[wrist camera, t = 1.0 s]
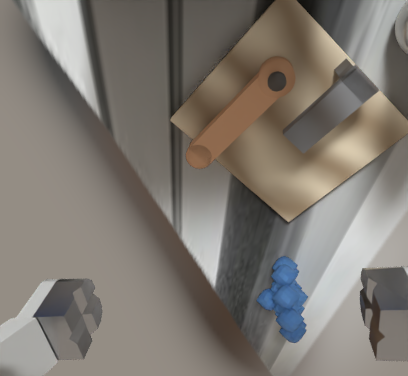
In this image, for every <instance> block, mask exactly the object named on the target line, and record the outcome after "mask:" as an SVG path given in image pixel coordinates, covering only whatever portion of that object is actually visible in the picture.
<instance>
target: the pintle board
mask: <svg viewBox="0 0 408 376" xmlns="http://www.w3.org/2000/svg"><path fill="white" fill-rule="evenodd" d="M275 56H280V57H284V58H286V59H287V60H288V61H290V63H291V64H292V66H293V69H294V73H295V84H294V86H293V88H292V90H291V91H290V92H289V93H288V94H286V95H285V96H282V97H279V98H278V99H277V100H276V101H275V102H274V103H273V104H272V105H271V106H270V107H269V108H268V109H267V110H266V111H265V112H264V113H263V114H262V115H261V116H259V117H258V118H257V119H256V120H255V121H254V122H253V123H252V124H251V125H250V126H249V127H248V128H247V129H246V130H245V131H244V132H243V133H242V134H241V135H240V136H239V137H238V138H237V139H236V140H234V141H233V142H232V143H231V144H230V145H229V146H228V147H227V148H226V149H225V150H224V151H223V152H222V153H221V154H220V155H219V156H218V157H217V158H216V159H215V160H217V161H218V162H219V163H220V164H221V165H222V166H224V167H225V168H226V169H227V170H228V171H229V172H231V173H232V174H233V175H234V176H235V177H236V178H238V179H239V180H240V181H241V182H242V183H243V184H245V185H246V186H247V187H248V188H249V189H250V190H252V191H253V192H254V193H255V194H256V195H257V196H259V197H260V198H261V199H262V200H263V201H264V202H266V203H267V204H268V205H269V206H270V207H271V208H273V209H274V210H275V211H276V212H277V213H278V214H280V215H281V216H282V217H283V218H284V219H285V220H287V221H288V222H290V221H291V220H292V219H294V218H295V217H296V216H298V215H299V214H300V213H302V212H303V211H304V210H306V209H307V208H308V207H310V206H311V205H312V204H314V203H315V202H317V201H318V200H319V199H321V198H322V197H323V196H325V195H326V194H327V193H329V192H330V191H331V190H333V189H334V188H335V187H337V186H338V185H339V184H341V183H342V182H344V181H345V180H346V179H348V178H349V177H350V176H352V175H353V174H354V173H356V172H357V171H358V170H360V169H361V168H362V167H364V166H365V165H367V164H368V163H369V162H371V161H372V160H373V159H375V158H376V157H377V156H379V155H380V154H381V153H383V152H384V151H385V150H387V149H388V148H389V147H391V146H392V145H394V144H395V143H396V142H398V141H399V140H400V139H402V138H403V137H404V136H406V135H407V134H408V120H407V119H406V118H405V117H404V116H403V115H402V114H401V113H400V112H399V111H398V109H397V108H396V107H395V106H394V105H393V104H392V103H391V102H390V101H389V100H388V99H387V98H386V96H385V95H384V94H383V93H382V92H381V91H380V90H379V89H378V88H377V87H376V86H375V85H374V84H373V82H372V81H371V80H370V79H369V78H368V77H367V76H366V75H365V74H364V73H363V72H362V71H361V70H360V68H359V67H358V66H357V65H356V64H355V63H354V62H353V61H352V60H351V59H350V58H349V57H348V55H347V54H346V53H345V52H344V51H343V50H342V49H341V48H340V47H339V46H338V45H337V44H336V43H335V41H334V40H333V39H332V38H331V37H330V36H329V35H328V34H327V33H326V32H325V31H324V30H323V28H322V27H321V26H320V25H319V24H318V23H317V22H316V21H315V20H314V19H313V18H312V17H311V16H310V14H309V13H308V12H307V11H306V10H305V9H304V8H303V7H302V6H301V5H300V4H299V3H298V2H297V0H274V2H273V3H272V4H271V5H270V6H269V7H268V8H267V9H266V11H265V12H264V13H263V14H262V15H261V16H260V17H259V19H258V20H257V21H256V22H255V23H254V24H253V25H252V26H251V28H250V29H249V30H248V31H247V32H246V33H245V34H244V36H243V37H242V38H241V39H240V40H239V41H238V42H237V43H236V45H235V46H234V47H233V48H232V49H231V50H230V51H229V52H228V54H227V55H226V56H225V57H224V58H223V59H222V60H221V62H220V63H219V64H218V65H217V66H216V67H215V68H214V69H213V71H212V72H211V73H210V74H209V75H208V76H207V77H206V79H205V80H204V81H203V82H202V83H201V84H200V85H199V86H198V88H197V89H196V90H195V91H194V92H193V93H192V94H191V95H190V97H189V98H188V99H187V100H186V101H185V102H184V103H183V105H182V106H181V107H180V108H179V109H178V110H177V111H176V112H175V114H174V115H173V116H172V117H171V119H170V121H171V122H172V123H174V124H175V125H176V126H177V127H178V128H179V129H181V130H182V131H183V132H184V133H185V134H186V135H188V136H189V137H190V138H191V139H192V140H194V139H195V138H196V137H197V136H198V135H199V133H200V132H201V131H202V130H203V129H204V128H205V127H206V126H207V125H208V124H209V123H210V122H211V121H212V120H213V119H214V118H215V117H216V116H217V115H218V114H219V113H220V112H221V111H222V110H223V109H224V108H225V106H226V105H227V104H228V103H229V102H230V101H231V100H232V99H233V98H234V97H235V96H236V95H237V94H238V93H239V92H240V91H241V90H242V89H243V88H244V87H245V86H246V85H247V84H248V83H249V82H250V81H251V79H252V78H253V77H254V76H255V75H256V74H257V73H258V72H259V70H260V67H261V65H262V64H263V63H264V62H265V61H266V60H267V59H269V58H271V57H275ZM285 86H286V77H285V75H284V74H283V73H282V72H279V71H276V72H273V73H271V74H270V75H269V77H268V87H269V88H270V89H271V90H272V91H276V92H277V91H281V90H282V89H284V87H285Z"/></svg>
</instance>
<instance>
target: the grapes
mask: <svg viewBox="0 0 408 376" xmlns="http://www.w3.org/2000/svg"><path fill="white" fill-rule="evenodd" d="M297 266H298V265H297V264H296V263H295V262H293V261H292V260H291V259H290V258H288V257H286V256H283V257H280V258H279V259H278V260H277V261H276V263H275V264H274V266H273V267H272V268H273V269H274V270H275V271H274V272H273V274H272V276H271V277H272V278H273V279H274V280H275V281H274V282H273V283H272V284H271V285H273V286H272V288H271V289H265V290H263V292H262V293H261V294H260V295H259V297H258V299H257V302H258V303H259V304H260V305H261V306H262V307H263V308H265V309H266V310H273V309H274V310H275V312H276V313H275V315H276V316H277V319H276V321H277V323H278V324H279V325H280V326H281V327H282V328H281V329H280V331H279V332H280V333H281V334H282V335H283V336H284V337H285V338H286V339H287V340H288V341H289V342H292V343H296V342H298V341H299V340H300V339H301V338H302V337H303V335H304V334H305V332H306V329H305V327H306V324H305V323H304V322H303V320H304V318H303V317H302V316H301V314H302V312H303V310H304V309H305V308H304V307H303V306H302V305H303V304H304V302H305V301H306V299H307V298H308V296H307V295H306V294H305V293H304V292H303V291H302V290H301V289H302V288H301V287H300V286H299V285H298V284H297V282H296V281H295V279H296V277H297V275H298V273H299V271H298V270H297V269H296V268H297Z"/></svg>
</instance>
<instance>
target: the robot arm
mask: <svg viewBox="0 0 408 376" xmlns="http://www.w3.org/2000/svg"><path fill="white" fill-rule="evenodd" d="M361 281H362V284H363V287H364V288H363V289H362V290H361V291H360V305H361V313H362V317H363V321H364V324H365V326H366V327H367V328H369V329H370V334H369V340H370V343H371V346H372V349H373V352H374V355H375V358H376V360H383V361H385V360H386V361H408V266H401V267H380V268H362V271H361ZM94 290H95V286H94V284H93V282H92V280H90V279H57V280H56V279H54V280H53V279H52V280H45V281H42V282H41V284H40V285H39V286H38V288H37V289H36V291H35V292H34V293H33V295H32V296H31V298H30V299H29V301H28V302H27V303H26V305H25V306H24V307H23V309H22V310H21V312H20V313H19V314H18V316H17V317H16V318H11V319H9V320H8V321H6V322H5V323H3V324H2V325H0V376H44V375H45V374H46V373H47V372H48V371H49V370H50V369H51V368H52V367H53V366H54V365H55V364H56V363H57V362H58V360H77V359H84V358H85V356H86V353H87V351H88V349H89V347H90V344H91V342H92V338H91V334H92V333H93V332H94V331H95V330H97V329H98V327H99V324H100V322H101V317H102V305H101V302H100V299H99V298H98V297H97V296H96V295H94V294H93V292H94Z"/></svg>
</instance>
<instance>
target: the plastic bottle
mask: <svg viewBox="0 0 408 376" xmlns="http://www.w3.org/2000/svg"><path fill="white" fill-rule="evenodd" d="M395 35H396V39H397V41H398V44H399V46H400V47H401V49H402V50H403V51H404V52H405V53H406V54H407V55H408V1H407V2H406V3H405V4H404V6H403V7H402V9H401V10H400V12H399V14H398V16H397V19H396V23H395Z"/></svg>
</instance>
